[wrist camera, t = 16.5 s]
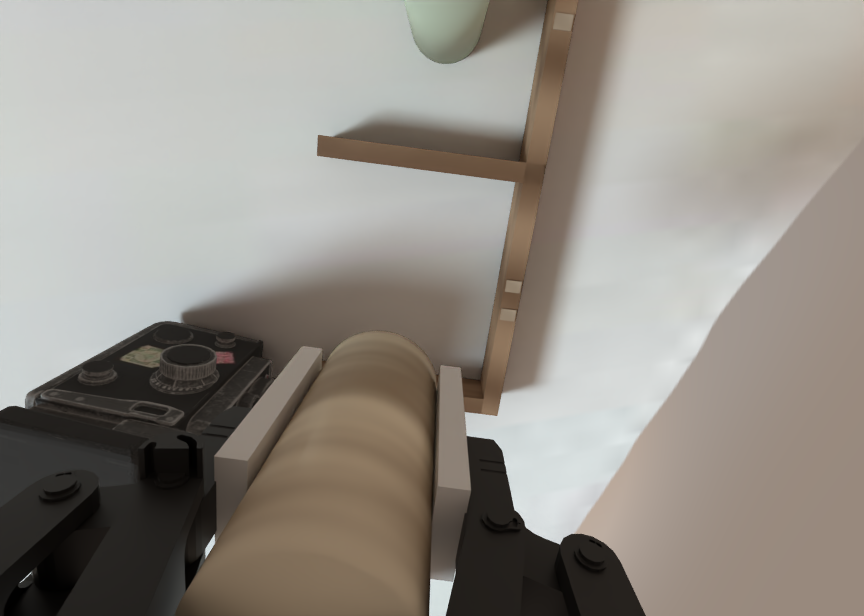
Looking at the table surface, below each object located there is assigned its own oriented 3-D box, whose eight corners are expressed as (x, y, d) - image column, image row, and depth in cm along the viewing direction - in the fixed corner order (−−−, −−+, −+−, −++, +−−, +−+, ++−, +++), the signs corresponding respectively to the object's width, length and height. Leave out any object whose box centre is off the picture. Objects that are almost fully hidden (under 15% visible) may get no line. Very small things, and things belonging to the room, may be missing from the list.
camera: (286, 442, 37) (189, 613, 23) (160, 415, 37) (-19, 574, 23) (304, 329, 34) (204, 446, 20) (166, 298, 34) (-37, 396, 19)
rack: (346, -174, 25) (333, -220, 22) (593, -139, 25) (613, -179, 22) (317, 373, 35) (306, 392, 32) (492, 395, 36) (497, 416, 33)
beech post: (326, 323, 17) (167, 533, 7) (444, 339, 17) (445, 570, 7) (319, 425, 18) (176, 721, 8) (428, 440, 18) (410, 750, 8)
